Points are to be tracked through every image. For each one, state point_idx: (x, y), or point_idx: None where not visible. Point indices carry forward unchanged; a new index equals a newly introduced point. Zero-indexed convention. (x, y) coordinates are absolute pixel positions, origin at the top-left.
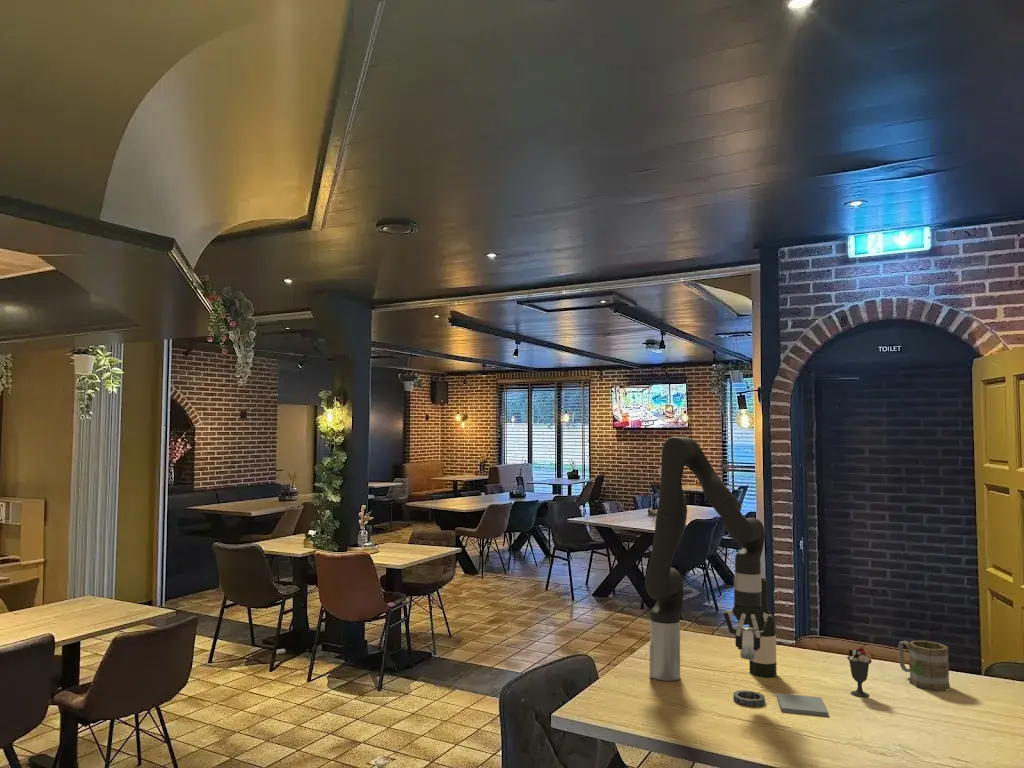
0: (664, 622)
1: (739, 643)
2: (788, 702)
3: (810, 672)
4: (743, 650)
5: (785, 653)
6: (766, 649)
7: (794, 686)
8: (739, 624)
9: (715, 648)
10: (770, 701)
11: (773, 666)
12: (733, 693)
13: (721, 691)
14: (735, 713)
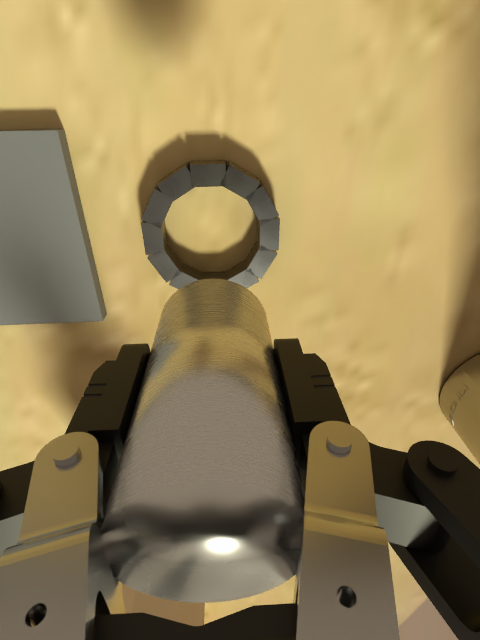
0: None
1: (296, 367)
2: (38, 223)
3: None
4: (251, 321)
5: None
6: None
7: (60, 425)
8: (375, 587)
9: (289, 595)
10: (125, 254)
11: None
12: (278, 242)
13: (314, 306)
14: (283, 18)
